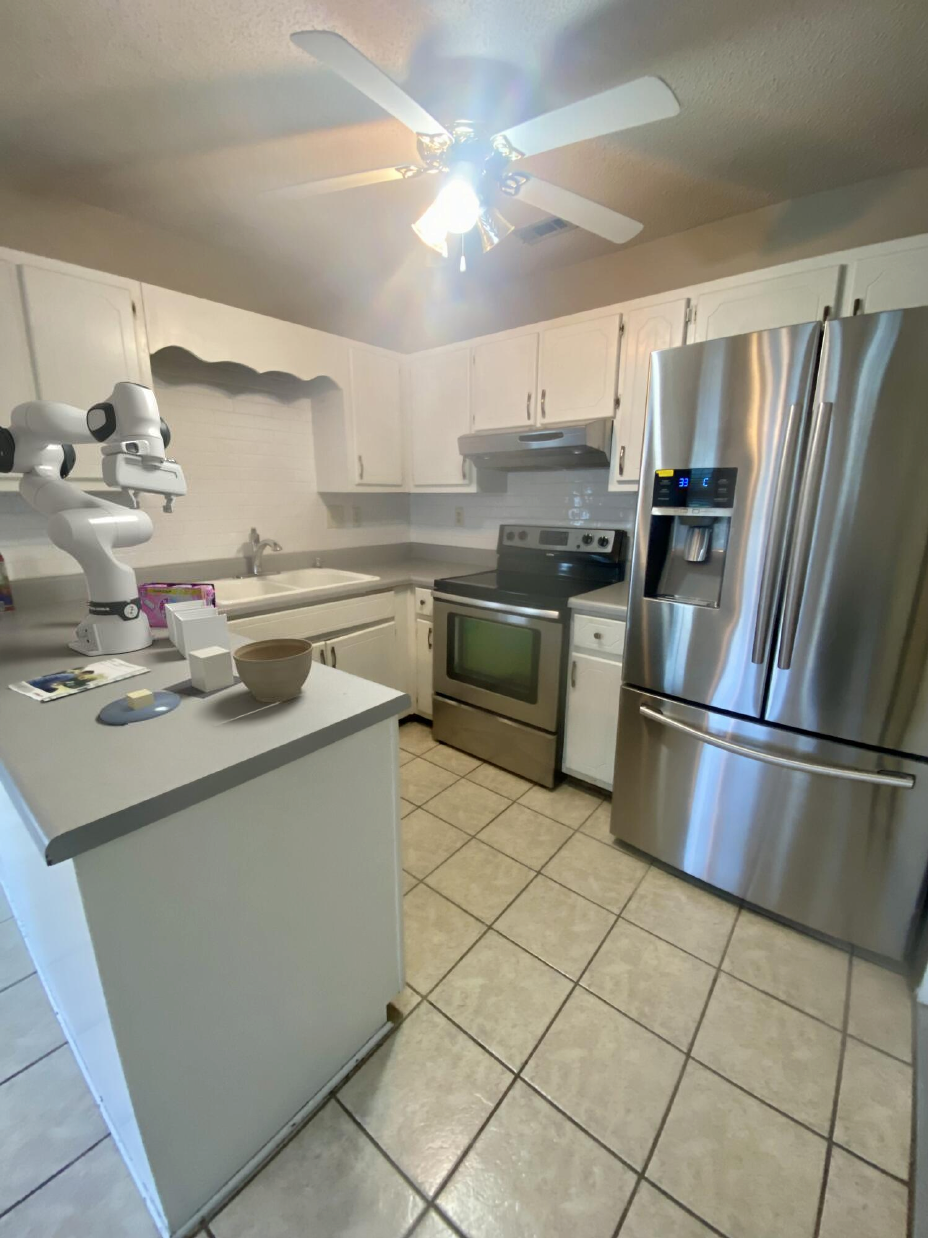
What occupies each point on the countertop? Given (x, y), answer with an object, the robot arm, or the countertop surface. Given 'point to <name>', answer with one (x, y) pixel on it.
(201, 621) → the storage container
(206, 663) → the white rectangular block
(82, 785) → the countertop surface
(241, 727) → the countertop surface
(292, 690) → the planter bowl
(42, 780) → the countertop surface
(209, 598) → the gum box
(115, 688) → the countertop surface
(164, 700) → the plate
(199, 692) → the mat
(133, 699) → the butter
